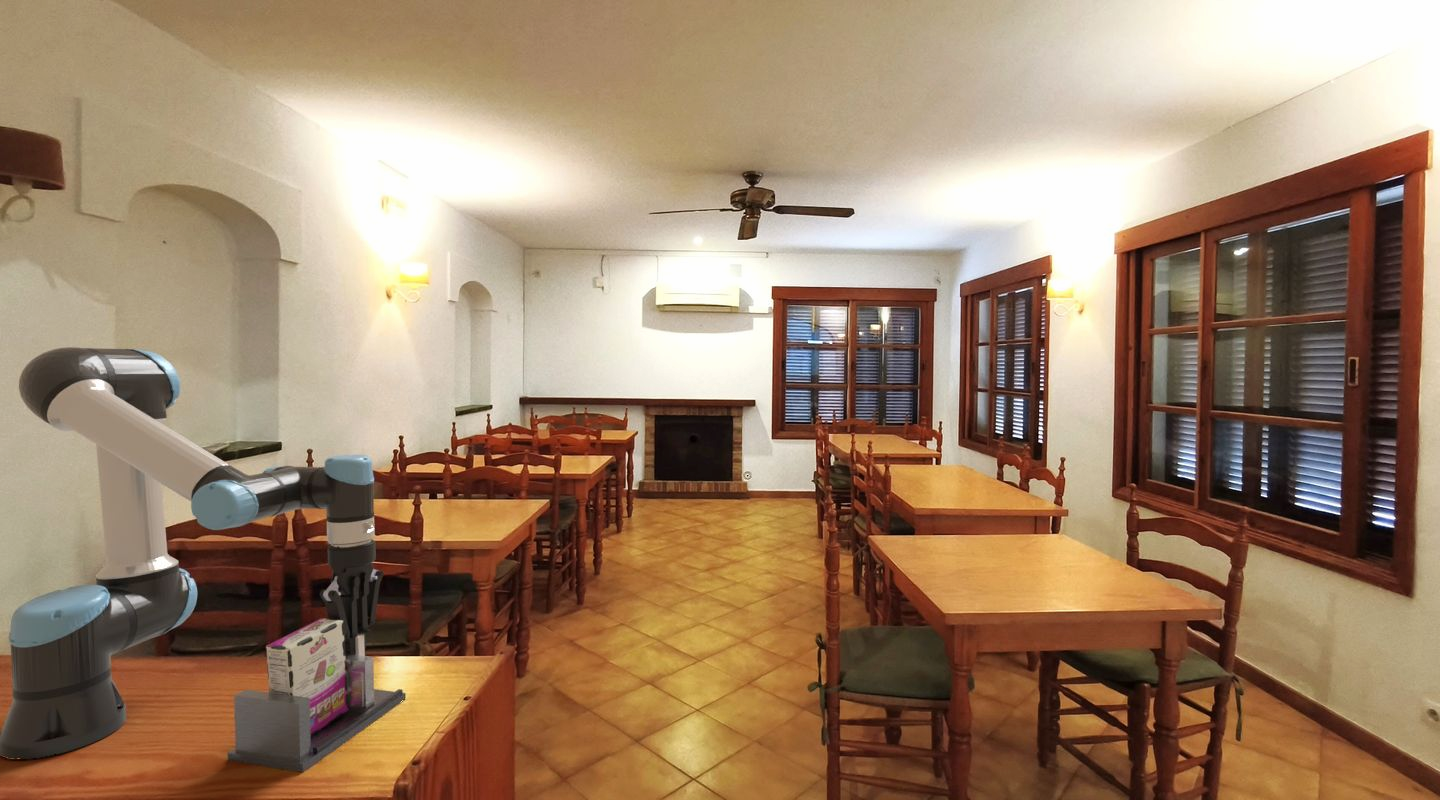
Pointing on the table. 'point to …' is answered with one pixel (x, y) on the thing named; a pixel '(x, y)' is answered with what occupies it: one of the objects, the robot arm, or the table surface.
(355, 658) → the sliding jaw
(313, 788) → the table surface
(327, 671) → the candy bar box
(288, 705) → the vise
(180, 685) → the table surface
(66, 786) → the table surface
